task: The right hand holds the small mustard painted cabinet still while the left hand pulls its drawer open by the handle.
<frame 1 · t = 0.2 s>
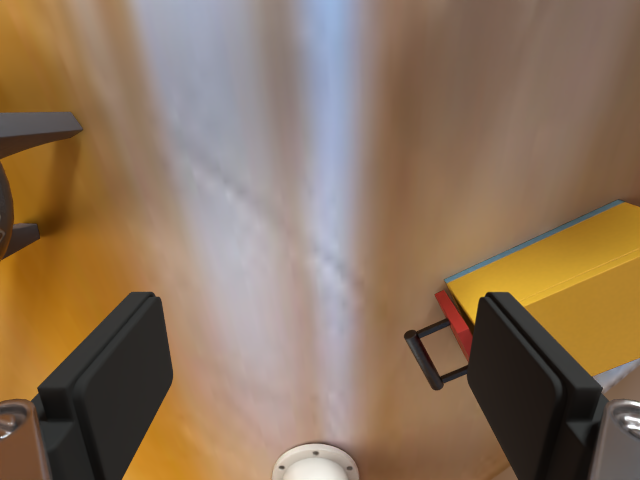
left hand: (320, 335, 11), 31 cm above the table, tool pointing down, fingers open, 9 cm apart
drawer: (522, 319, 41), point 5 cm above the table, slide at 0.6 cm
cabinet: (542, 279, 45), on the table
planter: (14, 160, 40), on the table
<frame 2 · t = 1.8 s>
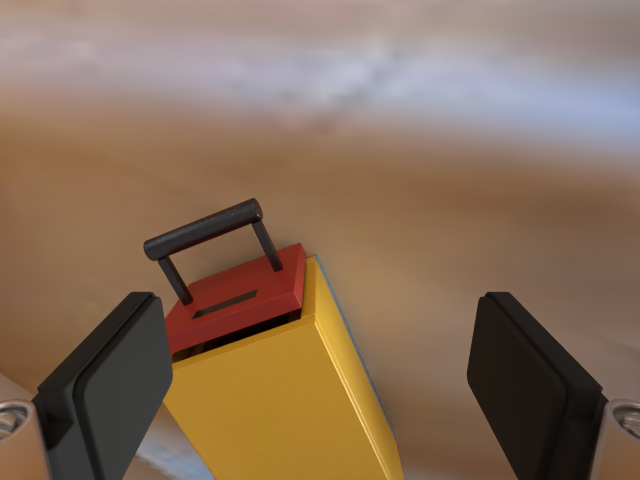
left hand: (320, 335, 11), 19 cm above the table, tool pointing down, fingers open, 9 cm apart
drawer: (274, 364, 29), point 5 cm above the table, slide at 0.6 cm
cabinet: (302, 371, 35), on the table
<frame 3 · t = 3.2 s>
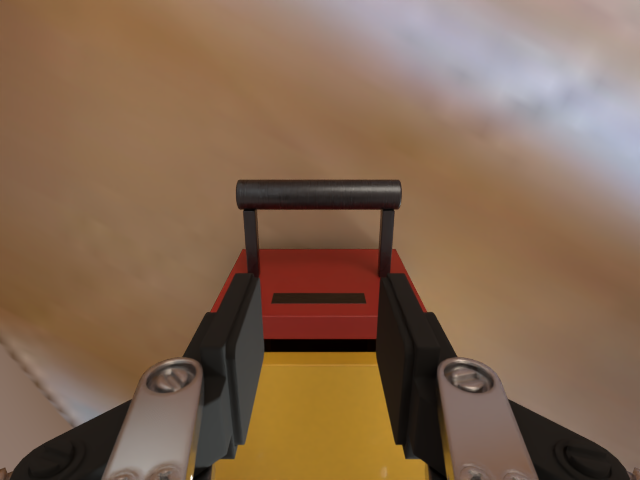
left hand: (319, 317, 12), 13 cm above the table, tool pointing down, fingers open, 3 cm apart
drawer: (319, 382, 23), point 5 cm above the table, slide at 0.6 cm
cabinet: (319, 390, 29), on the table, touching right hand
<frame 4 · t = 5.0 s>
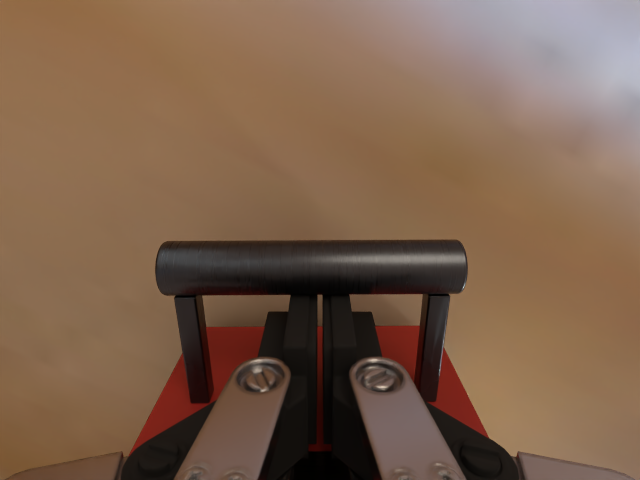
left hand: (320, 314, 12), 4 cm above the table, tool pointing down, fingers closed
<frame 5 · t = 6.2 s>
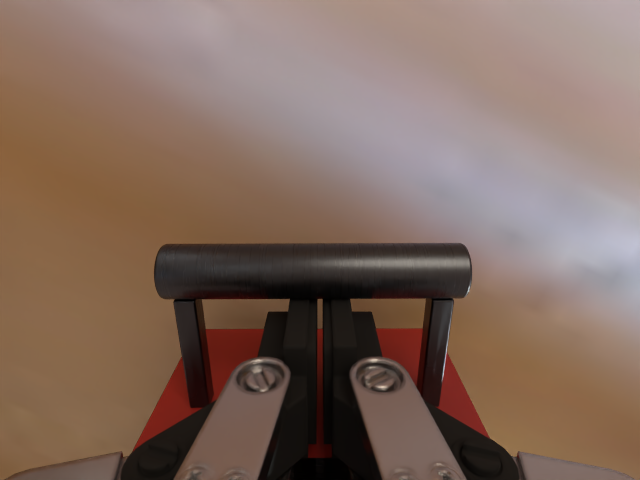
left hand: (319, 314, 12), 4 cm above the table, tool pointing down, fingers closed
when the right hand's fingers open (5 cm above the table, at t = 7.9 s): cabinet stays where it is, on the table.
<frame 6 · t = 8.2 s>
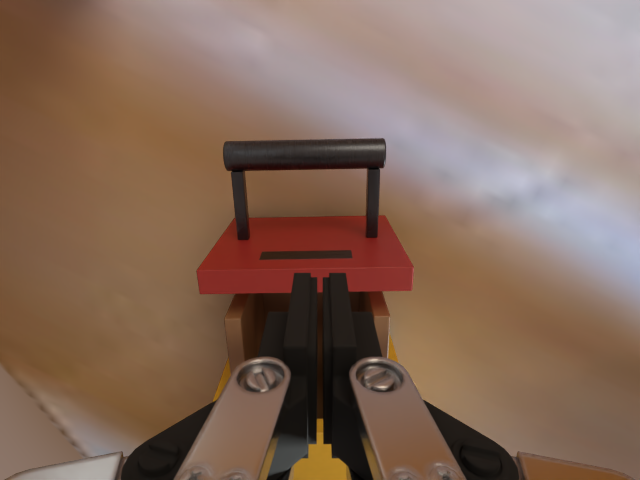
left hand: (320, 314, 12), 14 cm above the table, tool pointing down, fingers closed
drawer: (311, 346, 23), point 5 cm above the table, slide at 7.3 cm
cabinet: (316, 428, 32), on the table
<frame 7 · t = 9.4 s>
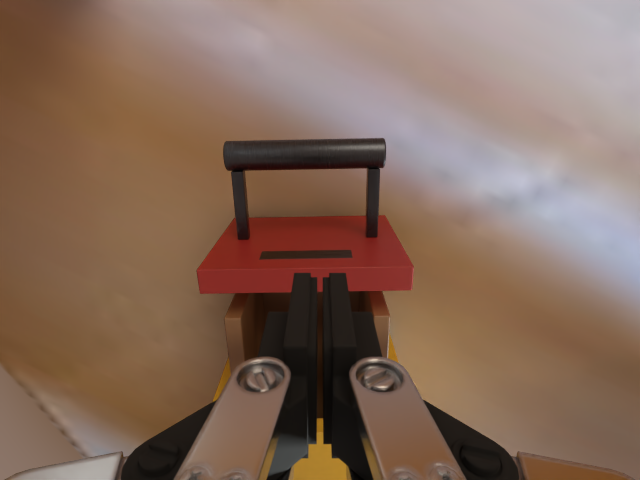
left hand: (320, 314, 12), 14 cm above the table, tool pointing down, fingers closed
drawer: (311, 346, 23), point 5 cm above the table, slide at 7.3 cm
cabinet: (316, 428, 32), on the table
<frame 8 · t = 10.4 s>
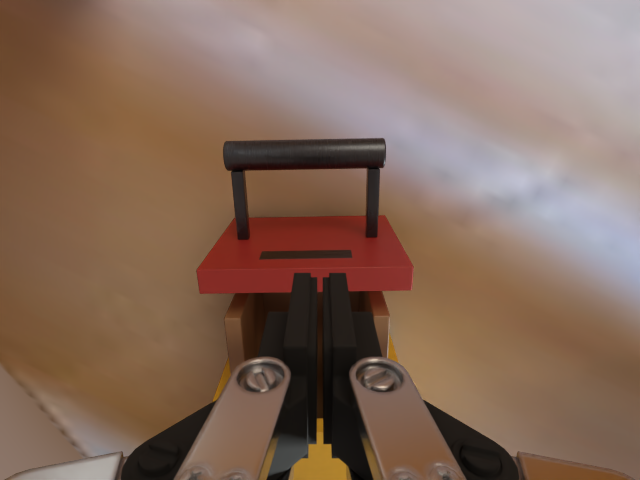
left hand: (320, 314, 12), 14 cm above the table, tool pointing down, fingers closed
drawer: (311, 346, 23), point 5 cm above the table, slide at 7.3 cm
cabinet: (316, 428, 32), on the table
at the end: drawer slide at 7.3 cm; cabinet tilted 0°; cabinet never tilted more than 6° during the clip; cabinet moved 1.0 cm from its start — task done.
